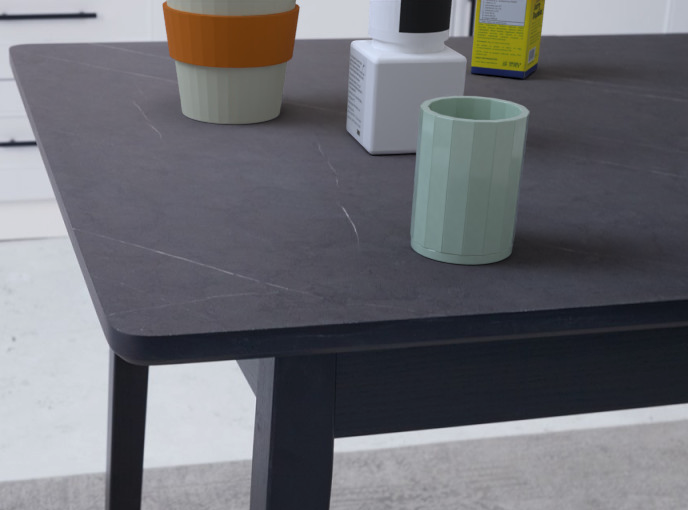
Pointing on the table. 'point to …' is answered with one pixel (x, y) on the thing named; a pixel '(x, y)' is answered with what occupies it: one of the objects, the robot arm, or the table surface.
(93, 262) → the table surface
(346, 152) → the table surface
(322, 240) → the table surface
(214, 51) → the reusable coffee cup
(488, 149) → the cup
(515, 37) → the supplement box
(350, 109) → the container
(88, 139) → the table surface
